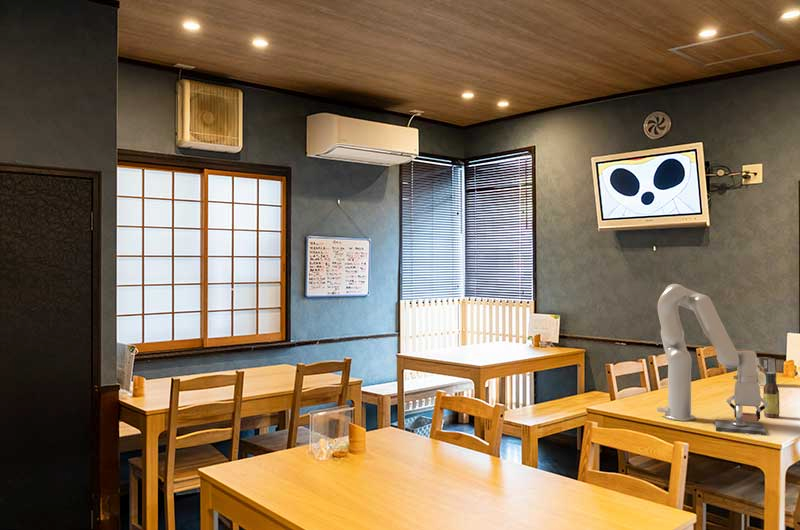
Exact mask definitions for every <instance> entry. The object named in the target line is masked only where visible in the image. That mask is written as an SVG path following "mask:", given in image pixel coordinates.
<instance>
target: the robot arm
mask: <svg viewBox="0 0 800 530" xmlns="http://www.w3.org/2000/svg"><path fill="white" fill-rule="evenodd" d="M679 306H681V307H683V308H686V309H687V310H691V311H693V312H694V313H693V314H695V318H696V320H697V321H698V323H699V325H700V327H701V329H702V331H703V333H704V335H705V336H706V338H707V339H708V340H709V342H710V343H711V345H712V346H713V348H714V350H715V352H716V360H717V362H718V363H719V364H720V365H722V366H723V367H724V368H726V369H730V370H731V369H734V368H736V373H737V374H736V375H733V380H736V381H735V383H734V391H733V395H731V396H730V397H729V398H727V399H726V400H725V402H727V404H728V405H729V406H730V407H731V408H732V410H733V411H734V414H733V415H734V416H733V417H734V418H736V406H737V405H739V406H742V407H744V406H745V407H755V409H756V411H755V413H756V415H757V422H759V420H761V413H762V412H763V411H764V409H765V407H766V406H767V405H768V402H766V401H765V400H764V399H763V398H762V396H761V389H760V385H759V383H757V357H758V356H757V353H756V352H755V351H753V350H748V349H747V350H743V349H742V350H737V349H736V347H735V346H734V343H733V342H732V339H731V338H730V336H729V334H728V333H727V330H726V328H725V326H724V324H723V323H722V320H721V318H720V316H719V314H718V311H717V309H716V308H715V305H714V304H713V301H712V300H711V298H710V297H709V296H708V295H706V294H704V293H700V292H696V291H694V290H692V289H689V288H687V287H685V286H683V285H682V284H678V283H671V284H669V285H667V286H666V287H665V289H664V291H663V292H662V293H661V294H660V297H659V299H658V301H657V307H656V309H657V314H658V319H659V324H660V328H661V329H660V337H661V341H662V346H663V350H664V353H665V357H666V359H667V365H668V366H667V407H666V406H665V407H661V406H660V407H658V406H657V412H659V413H664V418H665V417H666V419H669V420H673V421H681V422H690V421H694V420H696V417H695V415H693V414H692V364H693V361H692V356H691V353H690V352H689V350H688V348H687V344H686V341H685V331H684V329H683V325H682V321H681V319H680V313H679ZM732 401H734V404H733V402H732ZM761 402H762V403H763V404H762V403H761ZM761 404H762V405H761Z"/></svg>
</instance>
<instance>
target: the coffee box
mask: <svg viewBox="0 0 800 530" xmlns="http://www.w3.org/2000/svg"><path fill="white" fill-rule="evenodd" d="M767 372H771V373H776V374H777V358H774V357H773V358H772V357H768V356H767V357H766V356H759V357H758V356H757V383H759V384H760V385H759V386H762V385H765V384H766V373H767ZM775 381H776V382H777V376H776V377H775Z"/></svg>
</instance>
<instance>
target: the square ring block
mask: <svg viewBox="0 0 800 530" xmlns="http://www.w3.org/2000/svg"><path fill="white" fill-rule="evenodd" d="M742 422H752V423H758V421H757V415H756V412H755V413H753V412H743V411H742Z"/></svg>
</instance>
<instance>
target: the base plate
mask: <svg viewBox="0 0 800 530" xmlns="http://www.w3.org/2000/svg"><path fill="white" fill-rule="evenodd" d="M733 421H734V420H725V419H714V426H715V427H716V428H715V427H714V428H715V431H716V432H722V431H724V433H733V434H735V433H736V434H745V433H748V434H747V435H756V434H761V435H760V436H767V431H766V429H765V426H764V424H763V423H762V422H757V423H752V422H745V423H747V427H737V426H733V425H731V422H733Z"/></svg>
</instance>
